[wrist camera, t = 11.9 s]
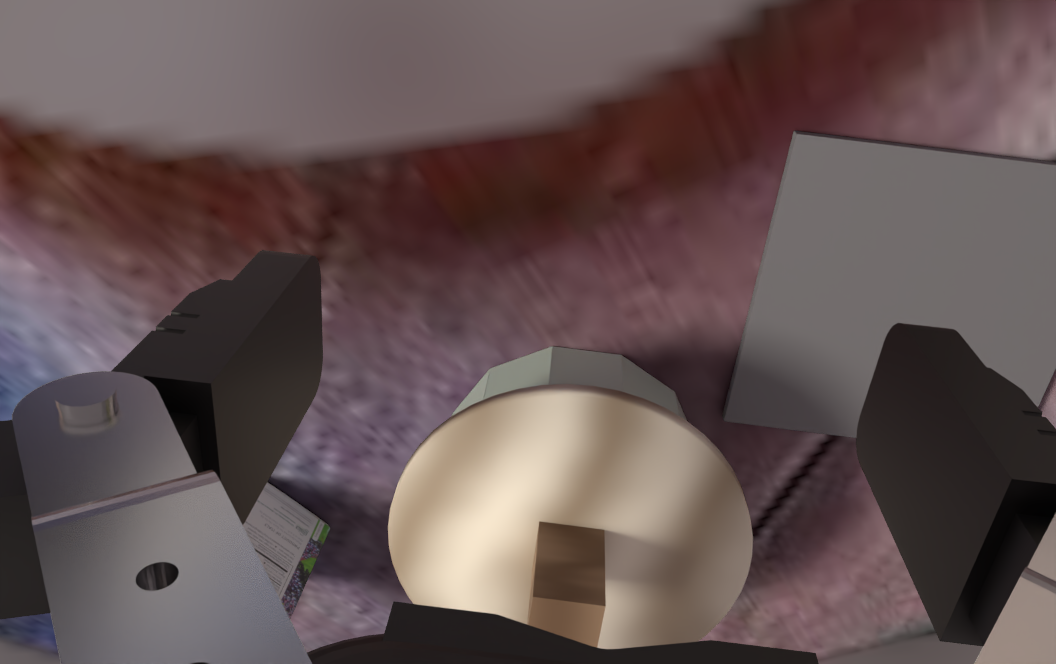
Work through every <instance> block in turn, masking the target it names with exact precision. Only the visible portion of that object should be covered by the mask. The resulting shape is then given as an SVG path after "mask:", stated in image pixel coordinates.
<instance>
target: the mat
mask: <svg viewBox="0 0 1056 664" xmlns="http://www.w3.org/2000/svg"><path fill="white" fill-rule="evenodd" d="M897 323H904V324H913V325H922V326H931V327H940V328H949V329H954V330H956V331H957V332H958V333H959V334H960V335H961V336H962V338H963V339H964V340H965V341H966V342H967V344H968V345H969V346H970V347H971V349H972V350H973V351H974V352H975V354H976V355H977V356H978V357H979V359H980V360H981V361H982V362H983V364H984V365H985V366H986V367H987V368H991V369H993V370H994V371H996V372H997V373H999V374H1000V375H1002V376H1003V377H1005V378H1006V379H1008V380H1009V381H1011V382H1012V383H1014V384H1015V385H1016V386H1018V387H1019V388H1021V389H1022V390H1023V391H1024V392H1025V393H1026V394H1027V395H1028V397H1029V398H1030V399H1031V400H1032V401H1033V403H1034V404H1035V405H1036V406H1037V407H1038V406H1039V404H1040V402H1041V400H1042V397H1043V395H1044V393H1045V391H1046V389H1047V386H1048V384H1049V382H1050V380H1051V378H1052V375H1053V373H1054V371H1055V369H1056V162H1049V161H1041V160H1032V159H1024V158H1016V157H1008V156H999V155H991V154H983V153H975V152H966V151H958V150H950V149H942V148H933V147H925V146H917V145H909V144H900V143H892V142H884V141H875V140H867V139H859V138H851V137H842V136H834V135H826V134H818V133H809V132H801V131H794V133H793V137H792V141H791V145H790V149H789V153H788V157H787V161H786V165H785V169H784V172H783V176H782V180H781V184H780V188H779V192H778V196H777V200H776V204H775V208H774V212H773V216H772V220H771V224H770V228H769V232H768V236H767V240H766V244H765V248H764V252H763V256H762V260H761V264H760V268H759V272H758V276H757V280H756V284H755V288H754V292H753V296H752V300H751V304H750V308H749V312H748V316H747V320H746V324H745V327H744V331H743V335H742V339H741V343H740V347H739V351H738V355H737V359H736V363H735V367H734V371H733V375H732V379H731V383H730V387H729V391H728V395H727V399H726V403H725V407H724V411H723V415H722V416H723V420H724V421H725V422H733V423H741V424H749V425H757V426H765V427H773V428H781V429H789V430H797V431H805V432H813V433H821V434H829V435H837V436H845V437H853V438H856V434H857V426H858V421H859V417H860V414H861V411H862V408H863V405H864V402H865V399H866V396H867V392H868V389H869V386H870V383H871V380H872V377H873V374H874V371H875V368H876V365H877V362H878V359H879V355H880V352H881V349H882V346H883V343H884V340H885V338H886V336H887V333H888V332H889V330H890V329H891V328H892V326H893V325H895V324H897Z"/></svg>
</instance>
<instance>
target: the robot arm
mask: <svg viewBox="0 0 1056 664" xmlns="http://www.w3.org/2000/svg"><path fill="white" fill-rule="evenodd" d="M322 362H323V344H322V307H321V274H320V266H319V262H318V260H317V258H316V257H315V256H310V255H301V254H292V253H283V252H274V251H265V250H262V251H260V252H259V253H258V254H257V255H256V256H255V257H254V258H253V259H252V260H251V261H250V262H249V263H248V264H247V265H246V266H245V268H244V269H243V270H242V271H241V272H240V273H239V274H238V275H237V276H236V277H235V278H234V279H233V280H232V281H231V280H222V279H220V280H218V281H216V282H213V283H211V284H209V285H207V286H205V287H203V288H200V289H198V290H196V291H194V292H192V293H190V294H189V295H188V296H187V297H186V298H185V299H184V300H183V301H182V302H181V303H180V304H179V305H178V306H176V307H175V308H174V309H173V310H172V311H171V316H169V315H167V316H166V317H165V318H164V319H163V320H162V321H161V322H160V323H159V324H158V325H157V326H156V331H151V332H150V333H149V334H148V335H147V336H146V337H145V338H144V339H143V340H142V341H141V342H140V343H139V344H138V345H137V346H136V347H135V348H134V349H133V350H132V351H131V352H130V353H129V354H128V355H127V356H126V357H125V358H124V359H123V360H122V361H121V362H120V363H119V364H118V365H117V366H116V367H115V368H114V369H113V370H112V371H111V372H107V371H101V372H89V373H82V374H76V375H72V376H68V377H64V378H61V379H58V380H55V381H52V382H50V383H47V384H45V385H43V386H41V387H39V388H37V389H35V390H33V391H32V392H31V393H29V394H28V395H26V396H25V397H24V398H23V399H22V400H21V401H20V402H19V403H18V404H17V406H16V407H15V409H14V412H13V414H12V420H8V421H0V619H6V618H14V617H22V616H29V615H37V614H45V613H51V617H52V622H53V627H54V632H55V637H56V642H57V646H58V651H59V656H60V661H61V664H818V660H817V657H816V653H811V652H802V651H794V650H786V649H778V648H770V647H761V646H753V645H745V644H737V643H729V642H720V641H712V640H709V641H698V642H687V643H676V644H665V645H654V646H643V647H632V648H621V649H602V648H597V647H593V646H590V645H587V644H584V643H581V642H578V641H575V640H572V639H569V638H566V637H563V636H560V635H557V634H554V633H551V632H548V631H545V630H542V629H539V628H536V627H533V626H530V625H527V624H524V623H521V622H518V621H515V620H512V619H509V618H506V617H503V616H500V615H497V614H491V613H483V612H475V611H467V610H458V609H450V608H442V607H434V606H426V605H417V604H409V603H401V602H393V606H392V609H391V613H390V616H389V620H388V623H387V626H386V630H385V633H384V634H378V635H369V636H363V637H358V638H353V639H348V640H343V641H340V642H337V643H333V644H330V645H327V646H323V647H320V648H318V649H315V650H313V651H310V652H308V653H307V652H306V650H305V648H304V646H303V644H302V642H301V640H300V638H299V636H298V634H297V632H296V630H295V628H294V626H293V624H292V622H291V621H290V619H289V617H288V615H287V613H286V611H285V609H284V607H283V605H282V603H281V601H280V599H279V597H278V595H277V593H276V591H275V589H274V587H273V585H272V583H271V581H270V579H269V577H268V575H267V573H266V571H265V569H264V567H263V565H262V563H261V561H260V559H259V557H258V555H257V553H256V551H255V549H254V547H253V545H252V543H251V541H250V539H249V537H248V535H247V533H246V531H245V529H244V527H243V525H244V523H245V521H246V519H247V517H248V516H249V514H250V512H251V510H252V508H253V507H254V505H255V503H256V501H257V499H258V498H259V496H260V494H261V492H262V491H263V489H264V487H265V485H266V483H267V482H268V480H269V478H270V476H271V474H272V473H273V471H274V469H275V467H276V465H277V464H278V462H279V460H280V458H281V457H282V455H283V453H284V451H285V449H286V448H287V446H288V444H289V442H290V440H291V439H292V437H293V435H294V433H295V431H296V430H297V428H298V426H299V424H300V423H301V421H302V419H303V417H304V415H305V414H306V412H307V410H308V408H309V406H310V405H311V403H312V401H313V399H314V397H315V395H316V392H317V390H318V386H319V382H320V377H321V371H322ZM856 448H857V456H858V460H859V463H860V465H861V467H862V470H863V472H864V474H865V476H866V478H867V481H868V483H869V485H870V487H871V490H872V492H873V494H874V496H875V498H876V501H877V503H878V505H879V507H880V509H881V512H882V514H883V516H884V518H885V521H886V523H887V525H888V527H889V529H890V532H891V534H892V536H893V538H894V540H895V543H896V545H897V547H898V549H899V552H900V554H901V556H902V558H903V560H904V563H905V565H906V567H907V569H908V571H909V574H910V576H911V578H912V580H913V583H914V585H915V587H916V589H917V591H918V594H919V596H920V598H921V600H922V602H923V605H924V607H925V609H926V611H927V614H928V616H929V618H930V620H931V622H932V625H933V627H934V629H935V631H936V633H937V636H938V638H939V640H940V641H944V642H953V643H961V644H969V645H977V646H983V648H982V650H981V652H980V654H979V656H978V658H977V660H976V662H975V664H1056V429H1055V427H1054V426H1053V425H1052V424H1051V423H1050V422H1049V420H1048V419H1047V418H1046V417H1042V412H1041V411H1040V410H1039V408H1038V407H1037V406H1036V405H1035V404H1034V403H1033V401H1032V400H1031V399H1030V398H1029V397H1028V395H1027V394H1026V393H1025V392H1024V391H1023V390H1022V389H1021V388H1019V387H1018V386H1016V385H1015V384H1014V383H1012V382H1011V381H1009V380H1008V379H1006V378H1005V377H1003V376H1002V375H1000V374H999V373H997V372H996V371H994V370H993V369H991V368H987V367H986V366H985V365H984V364H983V362H982V361H981V360H980V359H979V357H978V356H977V355H976V354H975V352H974V351H973V350H972V349H971V347H970V346H969V345H968V344H967V342H966V341H965V340H964V339H963V338H962V336H961V335H960V334H959V333H958V332H957V331H956V330H954V329H949V328H940V327H931V326H922V325H913V324H904V323H897V324H895V325H893V326H892V328H891V329H890V330H889V332H888V333H887V336H886V338H885V340H884V343H883V346H882V349H881V352H880V355H879V359H878V362H877V365H876V368H875V371H874V374H873V377H872V380H871V383H870V386H869V389H868V392H867V396H866V399H865V402H864V405H863V408H862V411H861V414H860V417H859V421H858V426H857V434H856Z"/></svg>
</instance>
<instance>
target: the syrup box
mask: <svg viewBox="0 0 1056 664" xmlns="http://www.w3.org/2000/svg"><path fill="white" fill-rule="evenodd" d="M243 527H244V529H245V531H246V533H247V535H248V537H249V539H250V541H251V543H252V545H253V547H254V549H255V551H256V553H257V555H258V557H259V559H260V561H261V563H262V565H263V567H264V569H265V571H266V573H267V575H268V577H269V579H270V581H271V583H272V585H273V587H274V589H275V591H276V593H277V595H278V597H279V599H280V601H281V603H282V605H283V607H284V609H285V611H286V613H287V615H288V617H289V619H290V618H291V616H292V614H293V612H294V610H295V607H296V605H297V603H298V600H299V598H300V596H301V594H302V591H303V589H304V587H305V584H306V582H307V580H308V577H309V575H310V573H311V571H312V569H313V566H314V564H315V562H316V559H317V557H318V555H319V553H320V550H321V548H322V546H323V544H324V541H325V539H326V537H327V535H328V533H329V530H330V527H329V525H328V524H327V523H325V522H324V521H322V520H321V519H320V518H318V517H317V516H315V515H314V514H313V513H311V512H310V511H308V510H307V509H305V508H304V507H303V506H301V505H300V504H298V503H297V502H296V501H294V500H293V499H291V498H290V497H288V496H287V495H286V494H284V493H283V492H281V491H280V490H278V489H277V488H275V487H274V486H272V485H271V484H269V483H268V482H267V483H266V485H265V487H264V489H263V491H262V492H261V494H260V496H259V498H258V499H257V501H256V503H255V505H254V507H253V508H252V510H251V512H250V514H249V516H248V517H247V519H246V521H245V523H244V525H243Z"/></svg>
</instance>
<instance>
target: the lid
mask: <svg viewBox="0 0 1056 664" xmlns="http://www.w3.org/2000/svg"><path fill="white" fill-rule="evenodd" d="M388 539H389V549H390V553H391V558H392V563H393V566H394V568H395V571H396V573H397V576H398V579H399V581H400V583H401V585H402V586H403V588H404V590H405V592H406V593H407V595H408V597H409V598H410V600H411V601H412V602H413V604H417V605H426V606H434V607H442V608H450V609H458V610H467V611H475V612H483V613H491V614H497V615H500V616H503V617H506V618H509V619H512V620H515V621H518V622H521V623H524V624H527V625H530V626H533V627H536V628H539V629H542V630H545V631H548V632H551V633H554V634H557V635H560V636H563V637H566V638H569V639H572V640H575V641H578V642H581V643H584V644H587V645H590V646H593V647H597V648H602V649H621V648H632V647H643V646H654V645H665V644H676V643H687V642H697V641H699V640H700V639H702V638H703V637H704V636H706V635H707V634H708V633H709V632H710V631H711V630H712V629H713V628H714V627H715V626H716V625H718V624H719V623H720V622H721V620H722V619H723V618H724V617H725V615H726V614H727V613H728V612H729V610H730V609H731V608H732V606H733V605H734V603H735V601H736V600H737V598H738V596H739V595H740V593H741V591H742V589H743V586H744V584H745V581H746V579H747V576H748V573H749V568H750V564H751V559H752V548H753V534H752V526H751V519H750V515H749V510H748V506H747V503H746V500H745V496H744V493H743V490H742V487H741V485H740V483H739V481H738V479H737V477H736V475H735V473H734V471H733V469H732V467H731V466H730V464H729V463H728V461H727V460H726V459H725V457H724V456H723V454H722V453H721V452H720V450H719V449H718V448H717V447H716V446H715V445H714V444H713V443H712V442H711V441H710V440H709V439H708V438H707V437H706V436H705V435H704V434H703V433H702V432H700V431H699V430H698V429H697V428H695V427H694V426H693V425H692V424H690V423H689V422H688V421H687V420H685V419H683V418H682V417H680V416H678V415H677V414H675V413H673V412H672V411H670V410H668V409H666V408H665V407H662V406H660V405H658V404H655V403H653V402H651V401H649V400H646V399H644V398H641V397H638V396H635V395H632V394H628V393H625V392H622V391H618V390H613V389H608V388H602V387H597V386H588V385H574V384H556V385H539V386H533V387H527V388H520V389H515V390H512V391H508V392H505V393H501V394H497V395H494V396H491V397H489V398H487V399H484V400H482V401H479V402H477V403H475V404H472V405H470V406H469V407H467V408H465V409H463V410H462V411H460V412H458V413H456V414H455V415H453V416H451V417H450V418H449V419H447V420H446V421H445V422H444V423H442V424H441V425H440V426H438V427H437V428H436V429H434V430H433V432H432V433H431V434H430V435H429V436H428V437H427V438H426V439H425V440H424V441H423V442H422V443H421V444H420V445H419V446H418V448H417V449H416V451H415V452H414V454H413V455H412V456H411V458H410V459H409V461H408V462H407V465H406V467H405V469H404V471H403V473H402V475H401V477H400V479H399V482H398V485H397V488H396V491H395V494H394V498H393V501H392V504H391V508H390V514H389V523H388Z"/></svg>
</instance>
